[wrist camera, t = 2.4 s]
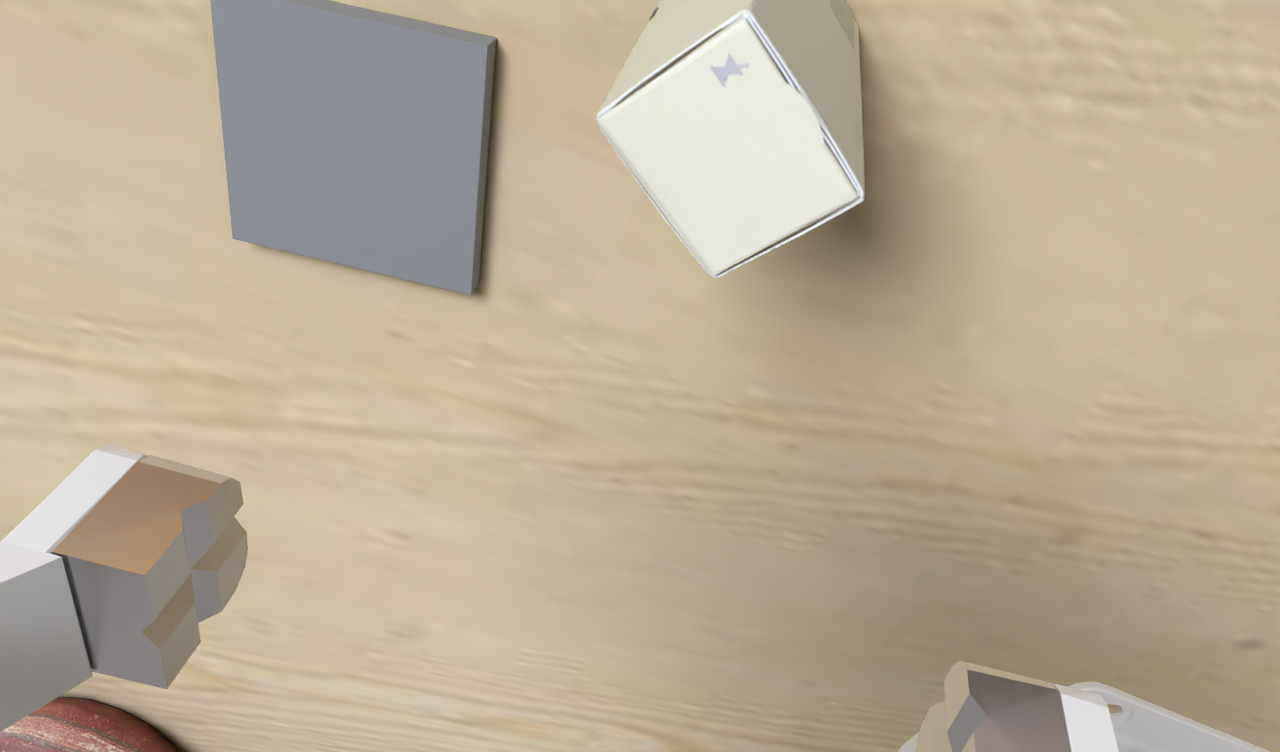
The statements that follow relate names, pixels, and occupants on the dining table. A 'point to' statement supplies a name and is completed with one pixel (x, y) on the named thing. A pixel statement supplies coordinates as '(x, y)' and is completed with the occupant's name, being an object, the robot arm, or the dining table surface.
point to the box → (742, 122)
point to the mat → (356, 136)
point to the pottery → (82, 730)
